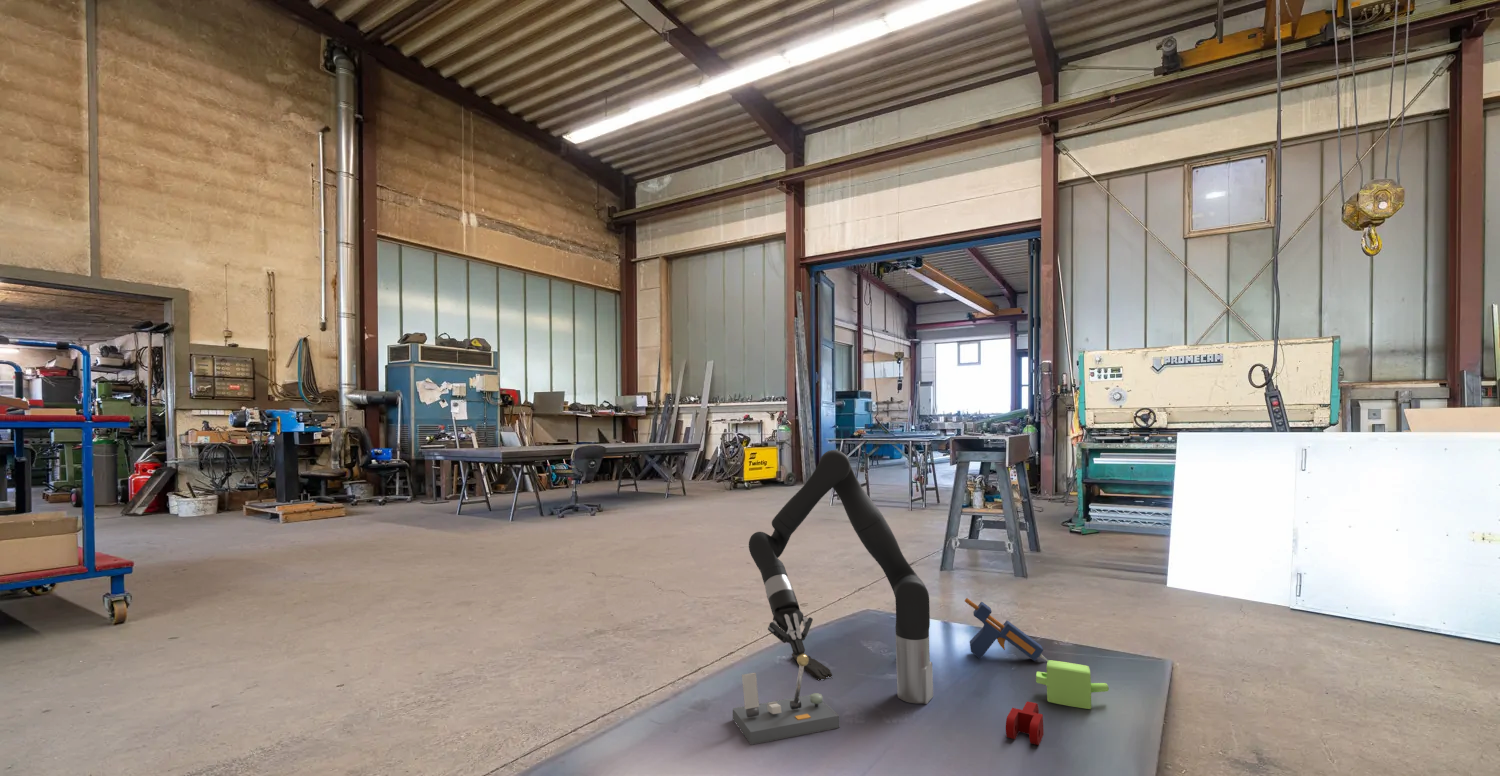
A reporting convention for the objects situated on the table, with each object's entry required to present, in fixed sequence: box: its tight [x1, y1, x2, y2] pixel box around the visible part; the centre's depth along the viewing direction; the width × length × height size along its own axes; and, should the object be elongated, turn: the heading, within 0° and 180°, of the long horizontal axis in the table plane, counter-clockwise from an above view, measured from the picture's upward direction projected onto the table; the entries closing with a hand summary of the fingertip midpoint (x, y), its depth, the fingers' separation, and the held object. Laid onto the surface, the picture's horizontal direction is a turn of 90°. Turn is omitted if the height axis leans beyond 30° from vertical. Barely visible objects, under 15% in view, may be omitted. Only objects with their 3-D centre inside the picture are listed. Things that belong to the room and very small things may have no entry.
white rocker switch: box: [767, 701, 781, 714], centre depth 164 cm, size 4×2×2 cm, turn 20°
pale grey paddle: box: [741, 672, 760, 717], centre depth 163 cm, size 2×4×10 cm, turn 110°
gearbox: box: [1035, 659, 1110, 710], centre depth 177 cm, size 18×10×10 cm, turn 64°
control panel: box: [732, 694, 840, 745], centre depth 165 cm, size 14×24×3 cm, turn 110°
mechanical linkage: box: [1005, 701, 1045, 746], centre depth 160 cm, size 16×7×5 cm, turn 146°
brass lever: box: [790, 653, 809, 709], centre depth 164 cm, size 3×3×16 cm
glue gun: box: [964, 597, 1049, 662], centre depth 210 cm, size 6×31×15 cm
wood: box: [791, 652, 833, 681], centre depth 204 cm, size 22×7×3 cm, turn 23°
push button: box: [809, 692, 823, 707], centre depth 168 cm, size 3×3×3 cm
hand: (800, 655), depth 164 cm, fingers closed
